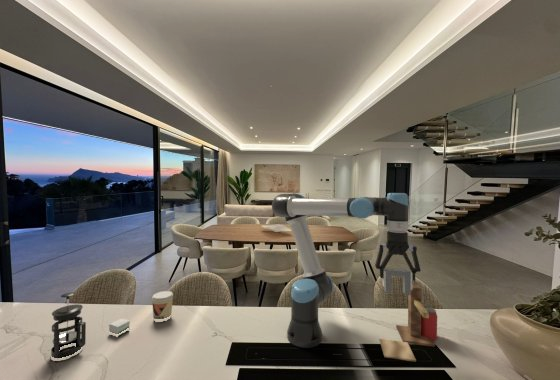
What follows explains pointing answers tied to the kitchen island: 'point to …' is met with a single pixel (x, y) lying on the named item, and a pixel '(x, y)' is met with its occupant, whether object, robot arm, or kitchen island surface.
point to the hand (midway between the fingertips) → (397, 287)
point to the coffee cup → (162, 304)
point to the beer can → (429, 324)
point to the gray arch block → (398, 272)
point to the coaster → (397, 350)
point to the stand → (415, 320)
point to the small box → (119, 326)
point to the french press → (69, 337)
